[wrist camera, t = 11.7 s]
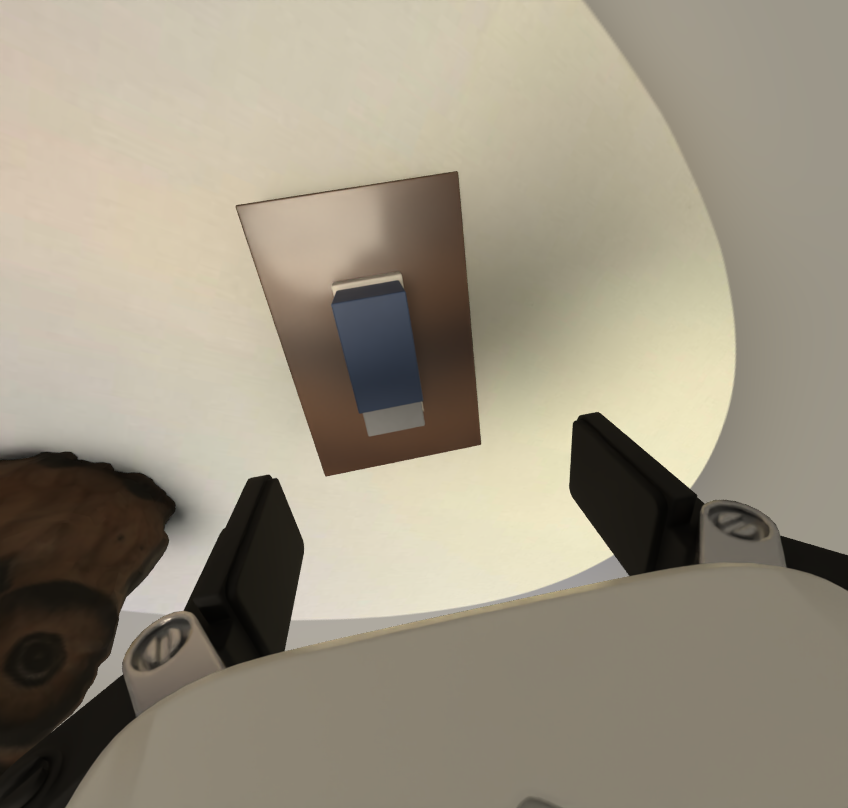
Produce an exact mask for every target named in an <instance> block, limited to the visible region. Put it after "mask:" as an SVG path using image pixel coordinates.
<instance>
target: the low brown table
mask: <svg viewBox="0 0 848 808" xmlns="http://www.w3.org/2000/svg"><path fill="white" fill-rule="evenodd" d="M236 210H237V213H238V216H239V219H240V222H241V225H242V228H243V231H244V234H245V237H246V240H247V243H248V246H249V249H250V252H251V255H252V258H253V261H254V264H255V267H256V270H257V273H258V276H259V279H260V282H261V285H262V288H263V291H264V294H265V297H266V300H267V303H268V306H269V309H270V312H271V315H272V318H273V321H274V324H275V327H276V330H277V333H278V336H279V339H280V342H281V345H282V348H283V351H284V354H285V357H286V360H287V363H288V366H289V369H290V372H291V375H292V378H293V381H294V384H295V387H296V390H297V393H298V396H299V399H300V402H301V405H302V408H303V411H304V414H305V417H306V420H307V423H308V426H309V429H310V432H311V435H312V438H313V441H314V444H315V447H316V450H317V453H318V456H319V459H320V462H321V465H322V468H323V471H324V474H325V476H331V475H336V474H341V473H346V472H350V471H355V470H360V469H365V468H370V467H375V466H380V465H385V464H389V463H394V462H399V461H404V460H409V459H414V458H419V457H424V456H428V455H433V454H438V453H443V452H448V451H453V450H458V449H463V448H468V447H472V446H477V445H481V436H480V424H479V412H478V401H477V389H476V377H475V365H474V354H473V342H472V330H471V318H470V307H469V295H468V283H467V271H466V260H465V248H464V236H463V224H462V212H461V201H460V189H459V177H458V172H457V171H455V172H449V173H442V174H436V175H429V176H423V177H416V178H410V179H403V180H397V181H390V182H384V183H377V184H371V185H364V186H358V187H351V188H345V189H338V190H332V191H325V192H319V193H312V194H306V195H299V196H293V197H286V198H280V199H274V200H267V201H261V202H254V203H248V204H241V205H236ZM392 272H400V273H401V275H402V280H403V286H404V290H405V292H406V296H407V302H408V308H409V314H410V321H411V327H412V333H413V339H414V345H415V352H416V358H417V364H418V370H419V376H420V383H421V389H422V395H423V401H422V402H423V409H424V411H423V415H424V421H425V425H424V426H420V427H415V428H410V429H405V430H400V431H395V432H390V433H385V434H380V435H375V436H368V432H367V429H366V425H365V421H364V417H363V413H361V414H359V412H358V408H357V404H356V400H355V397H354V393H353V389H352V385H351V381H350V377H349V373H348V369H347V365H346V361H345V358H344V354H343V350H342V346H341V342H340V338H339V334H338V330H337V326H336V322H335V319H334V315H333V311H332V307H331V304H332V301H333V298H334V295H333V291H332V284H333V283H334V282H340V281H346V280H352V279H357V278H363V277H369V276H375V275H381V274H387V273H392Z"/></svg>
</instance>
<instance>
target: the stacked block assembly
mask: <svg viewBox="0 0 848 808" xmlns="http://www.w3.org/2000/svg"><path fill="white" fill-rule="evenodd" d="M332 291H333V295H334V298H333V301H332V304H331V307H332V311H333V315H334V319H335V322H336V326H337V330H338V334H339V338H340V342H341V346H342V350H343V354H344V358H345V361H346V365H347V369H348V373H349V377H350V381H351V385H352V389H353V393H354V397H355V400H356V404H357V408H358V412H359V414H361V413H363V417H364V421H365V425H366V429H367V432H368V436H375V435H380V434H385V433H390V432H395V431H400V430H405V429H410V428H415V427H420V426H424V425H425V421H424V415H423V411H424V409H423V402H422V401H423V395H422V389H421V383H420V376H419V370H418V364H417V358H416V352H415V345H414V339H413V333H412V327H411V321H410V314H409V308H408V302H407V296H406V292H405V290H404V286H403V280H402V275H401V273H400V272H392V273H387V274H381V275H375V276H369V277H363V278H357V279H352V280H346V281H340V282H334V283H333V284H332Z"/></svg>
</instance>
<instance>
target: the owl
mask: <svg viewBox="0 0 848 808" xmlns="http://www.w3.org/2000/svg"><path fill="white" fill-rule="evenodd" d="M77 458H78V457H77V456H75V455H74V454H73V453H71V452H62V453H49V452H43V453H40V454H38V455H35V456H32V457H29V458H22V459H14V460H0V777H1V776H2V774H3V773H4V772H5V771H6V770H7V769H8V768H10V767H11V766H12V765H13V764H14V763H15V762H16V761H17V760H18V759H19V758H21V757H22V756H23V755H24V754H25V753H27V752H28V751H29V750H30V749H32V748H33V747H34V746H35V745H37V744H38V743H39V742H40V741H41V740H43V739H44V738H45V737H46V736H48V735H49V734H50V733H51V732H52V731H53V730H54V729H55V728H56V727H57V726H59V725H60V724H61V723H62V722H63V721H65V720H66V719H67V718H68V717H69V716H70V715H72V714H73V712H74V711H75V710H76V709H77V707H78V706H79V705H80V704H81V703H82V701H83V699H84V696H85V694H86V692H87V690H88V689H89V688H90V686H91V685H92V684H93V682H94V680H95V678H96V676H97V671H98V667H99V666H100V664H101V663H103V662H104V661H105V660H106V659H107V658H108V657H109V655H110V653H111V650H112V646H113V642H114V638H115V634H116V630H117V626H118V621H119V613H120V611H121V608H122V606H123V604H124V601H125V599H126V597H127V596H128V595H129V594H130V593H131V592H132V591H133V590H134V589H135V588H136V587H137V586H138V585H139V584H140V583H141V582H142V581H143V580H144V579H145V578H146V577H147V576H148V575H149V573H150V572H151V570H152V569H153V568H154V566H155V565H156V564H157V562H158V561H159V560H160V558H161V557H162V556H163V554H164V552H165V551H166V549H167V546H168V544H169V538H168V535H167V534H166V533H165V531H164V526H165V524H166V523H167V521H168V520H169V518H170V517H171V516H172V514H173V513H174V512H175V509H176V508H175V507H176V505H175V502H174V501H173V500H172V499H171V498H169V497H168V496H167V495H166V493H165V491H163V490H162V489H161V488H160V487H158V486H157V485H156V484H155V483H154V482H153V480H152V479H150V478H148V477H146V476H145V475H144V474H141V473H123V472H117V471H114V469H113V467H112V465H111V464H109V463H92V462H88V461H84V460H77Z"/></svg>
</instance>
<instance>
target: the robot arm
mask: <svg viewBox="0 0 848 808" xmlns="http://www.w3.org/2000/svg"><path fill="white" fill-rule="evenodd" d="M569 488H570V493H571V495H572V497H573V499H574V500H575V502H576V503H577V504H578V506H579V507H580V509H581V510H582V511H583V513H584V514H585V515H586V517H587V518H588V520H589V521H590V522H591V524H592V525H593V526H594V528H595V529H596V531H597V532H598V533H599V535H600V536H601V537H602V539H603V540H604V542H605V543H606V544H607V546H608V547H609V548H610V550H611V551H612V553H613V554H614V555H615V557H616V558H617V559H618V561H619V562H620V564H621V565H622V566H623V568H624V569H625V570H626V572H627V573H628V575H629V576H628V577H623V578H618V579H613V580H608V581H603V582H599V583H594V584H589V585H584V586H579V587H575V588H570V589H565V590H560V591H556V592H551V593H546V594H541V595H537V596H532V597H527V598H523V599H518V600H513V601H509V602H504V603H500V604H495V605H490V606H485V607H480V608H476V609H471V610H467V611H462V612H457V613H453V614H448V615H443V616H439V617H434V618H430V619H425V620H421V621H416V622H411V623H407V624H402V625H398V626H393V627H389V628H385V629H381V630H376V631H371V632H366V633H362V634H357V635H353V636H348V637H344V638H339V639H335V640H330V641H326V642H322V643H318V644H314V645H309V646H305V647H301V648H297V649H293V650H288V651H285V646H286V640H287V636H288V631H289V626H290V621H291V615H292V610H293V605H294V600H295V595H296V590H297V585H298V580H299V575H300V570H301V565H302V560H303V555H304V543H303V539H302V537H301V534H300V532H299V529H298V527H297V524H296V522H295V519H294V517H293V514H292V512H291V509H290V507H289V505H288V502H287V500H286V497H285V495H284V492H283V490H282V487H281V485H280V482H279V480H278V479H277V478H273V479H272V477H271V476H270V475H264V476H259V477H253V478H250V479H248V481H247V483H246V485H245V487H244V489H243V491H242V493H241V495H240V498H239V500H238V502H237V504H236V506H235V508H234V510H233V513H232V515H231V517H230V519H229V521H228V523H227V525H226V528H224V529H223V530H222V532H221V533H220V535H219V537H218V539H217V541H216V543H215V546H214V548H213V550H212V552H211V554H210V556H209V558H208V560H207V562H206V565H205V567H204V569H203V571H202V573H201V575H200V577H199V579H198V581H197V584H196V586H195V588H194V590H193V592H192V594H191V596H190V598H189V600H188V603H187V605H186V607H185V609H184V611H179V612H173V613H171V614H168V615H165V616H163V617H162V618H160V619H158V620H157V621H155V622H153V623H152V624H151V625H149V626H148V627H147V628H146V629H144V630H143V631H142V632H141V633H140V634H139V636H138V637H137V638H136V639H135V640H134V641H133V642H132V644H131V645H130V647H129V649H128V650H127V652H126V654H125V657H124V659H123V662H122V671H123V675H122V676H120V677H119V678H118V679H117V680H115V681H114V682H113V683H112V684H110V685H109V686H108V687H107V688H106V689H104V690H103V691H102V692H101V693H99V694H98V695H97V696H96V697H94V698H93V699H92V700H91V701H90V702H88V703H87V704H86V705H85V706H83V707H82V708H81V709H80V710H78V711H77V712H76V713H75V714H74V715H72V716H71V717H70V718H69V719H67V720H66V721H65V722H64V723H62V724H61V725H60V726H59V727H57V728H56V729H55V730H54V731H53V732H51V733H50V734H49V735H48V736H46V737H45V738H44V739H43V740H41V741H40V742H39V743H38V744H37V745H35V746H34V747H33V748H32V749H30V750H29V751H28V752H27V753H25V754H24V755H23V756H22V757H21V758H19V759H18V760H17V761H16V762H15V763H14V764H13V765H12V766H11V767H10V768H8V769H7V770H6V771H5V772H4V773H3V774H2V776H1V777H0V808H848V555H845V554H841V553H838V552H834V551H831V550H827V549H824V548H820V547H818V546H814V545H811V544H807V543H804V542H800V541H797V540H793V539H790V538H787V537H783V536H780V534H779V530H778V528H777V526H776V524H775V523H774V522H773V521H772V520H771V519H770V518H769V517H768V516H767V515H765V514H764V513H762V512H761V511H759V510H757V509H755V508H753V507H751V506H749V505H746V504H742V503H739V502H736V501H729V500H713V501H710V502H707V503H706V504H704V503H703V502H702V501H701V500H700V499H699V498H697V494H695V493H694V492H693V491H692V490H691V489H689V488H688V487H687V486H686V485H685V484H684V483H682V482H681V481H680V480H679V479H678V478H676V477H675V476H674V475H673V474H672V473H671V472H669V471H668V470H667V469H666V468H665V467H663V466H662V465H661V464H660V463H659V462H658V461H656V460H655V459H654V458H653V457H652V456H650V455H649V454H648V453H647V452H646V451H645V450H643V449H642V448H641V447H640V446H639V445H637V444H636V443H635V442H634V441H633V440H632V439H630V438H629V437H628V436H627V435H626V434H624V433H623V432H622V431H621V430H620V429H618V428H617V427H616V426H615V425H614V424H613V423H611V422H610V421H609V420H608V419H607V418H605V417H604V416H603V415H602V414H601V413H599V412H595V413H590V414H584V415H580V416H579V417H578V419H577V421H574V423H573V430H572V448H571V465H570V483H569Z"/></svg>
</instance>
